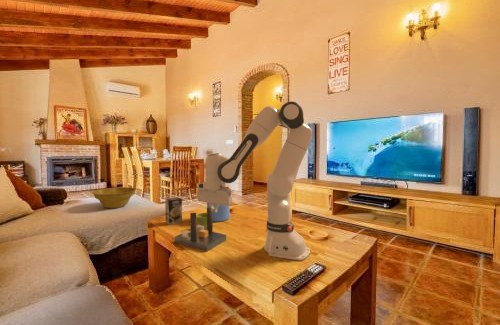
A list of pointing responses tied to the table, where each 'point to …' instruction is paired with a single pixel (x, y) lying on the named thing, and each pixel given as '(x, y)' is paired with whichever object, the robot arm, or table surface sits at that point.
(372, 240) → the table surface
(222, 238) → the dark grey base plate
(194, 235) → the cord post left
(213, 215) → the water jug
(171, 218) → the coffee box
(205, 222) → the plant pot
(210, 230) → the cord post right
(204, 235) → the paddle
